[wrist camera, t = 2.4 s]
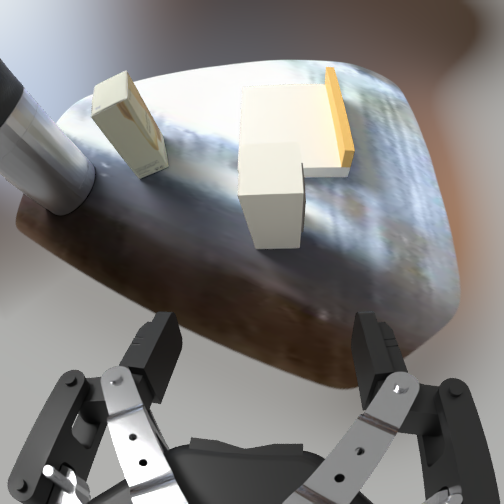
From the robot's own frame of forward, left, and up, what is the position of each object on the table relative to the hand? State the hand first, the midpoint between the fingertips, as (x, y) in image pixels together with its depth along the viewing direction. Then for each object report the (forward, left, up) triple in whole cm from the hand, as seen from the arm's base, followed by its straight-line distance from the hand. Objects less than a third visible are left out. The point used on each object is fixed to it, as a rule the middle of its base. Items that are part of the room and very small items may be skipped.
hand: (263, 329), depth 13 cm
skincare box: (-16, +22, -16) cm, 31 cm away
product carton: (0, +11, -15) cm, 19 cm away
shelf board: (+2, +24, -15) cm, 29 cm away
